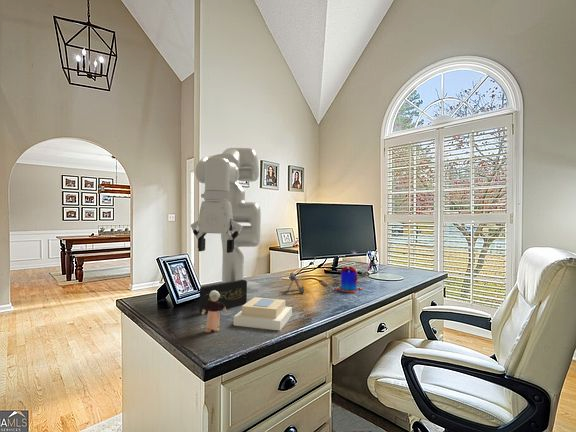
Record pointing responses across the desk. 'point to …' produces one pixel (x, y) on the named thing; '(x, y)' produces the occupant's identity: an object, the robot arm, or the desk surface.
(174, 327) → the desk surface
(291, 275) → the portable electronic device stand
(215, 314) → the grandmother figurine
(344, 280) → the fantasy tower
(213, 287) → the nameplate
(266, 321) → the plinth
